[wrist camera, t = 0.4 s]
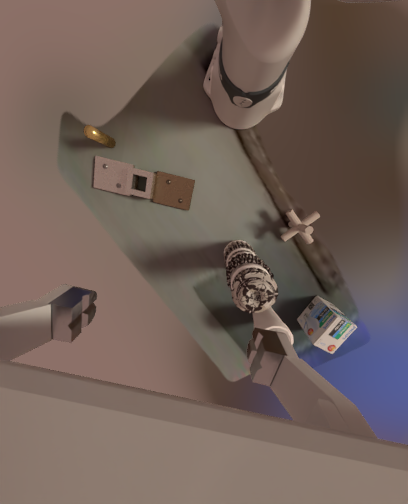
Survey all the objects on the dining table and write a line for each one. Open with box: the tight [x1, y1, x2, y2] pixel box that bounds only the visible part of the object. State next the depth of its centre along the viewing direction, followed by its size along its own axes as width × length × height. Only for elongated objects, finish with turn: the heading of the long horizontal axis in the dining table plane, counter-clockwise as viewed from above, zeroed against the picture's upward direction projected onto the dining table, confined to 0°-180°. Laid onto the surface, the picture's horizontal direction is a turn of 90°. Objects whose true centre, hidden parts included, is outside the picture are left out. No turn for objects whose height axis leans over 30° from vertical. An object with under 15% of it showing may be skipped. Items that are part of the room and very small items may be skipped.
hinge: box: [94, 156, 195, 210], centre depth 50 cm, size 26×8×4 cm, turn 77°
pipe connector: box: [280, 209, 320, 244], centre depth 48 cm, size 10×10×10 cm
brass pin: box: [84, 125, 116, 148], centre depth 45 cm, size 2×2×9 cm
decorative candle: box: [224, 240, 278, 313], centre depth 44 cm, size 9×9×25 cm
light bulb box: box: [297, 296, 357, 354], centre depth 56 cm, size 11×7×11 cm, turn 152°
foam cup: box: [253, 307, 293, 345], centre depth 55 cm, size 10×9×13 cm
